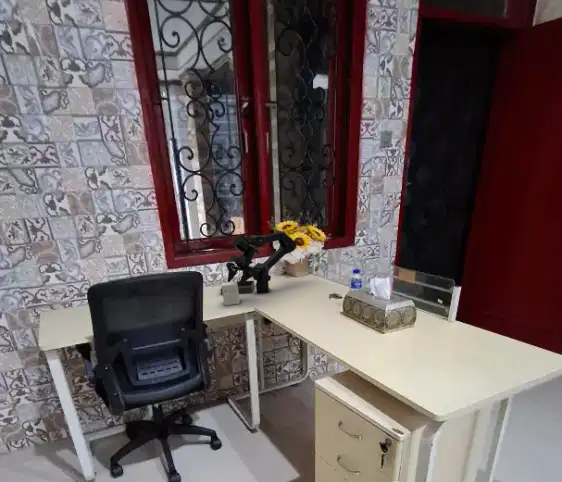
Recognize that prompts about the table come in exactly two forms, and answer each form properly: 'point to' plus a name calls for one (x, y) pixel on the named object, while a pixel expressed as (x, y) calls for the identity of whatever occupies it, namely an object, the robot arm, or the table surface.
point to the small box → (230, 293)
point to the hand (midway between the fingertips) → (233, 283)
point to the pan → (244, 287)
